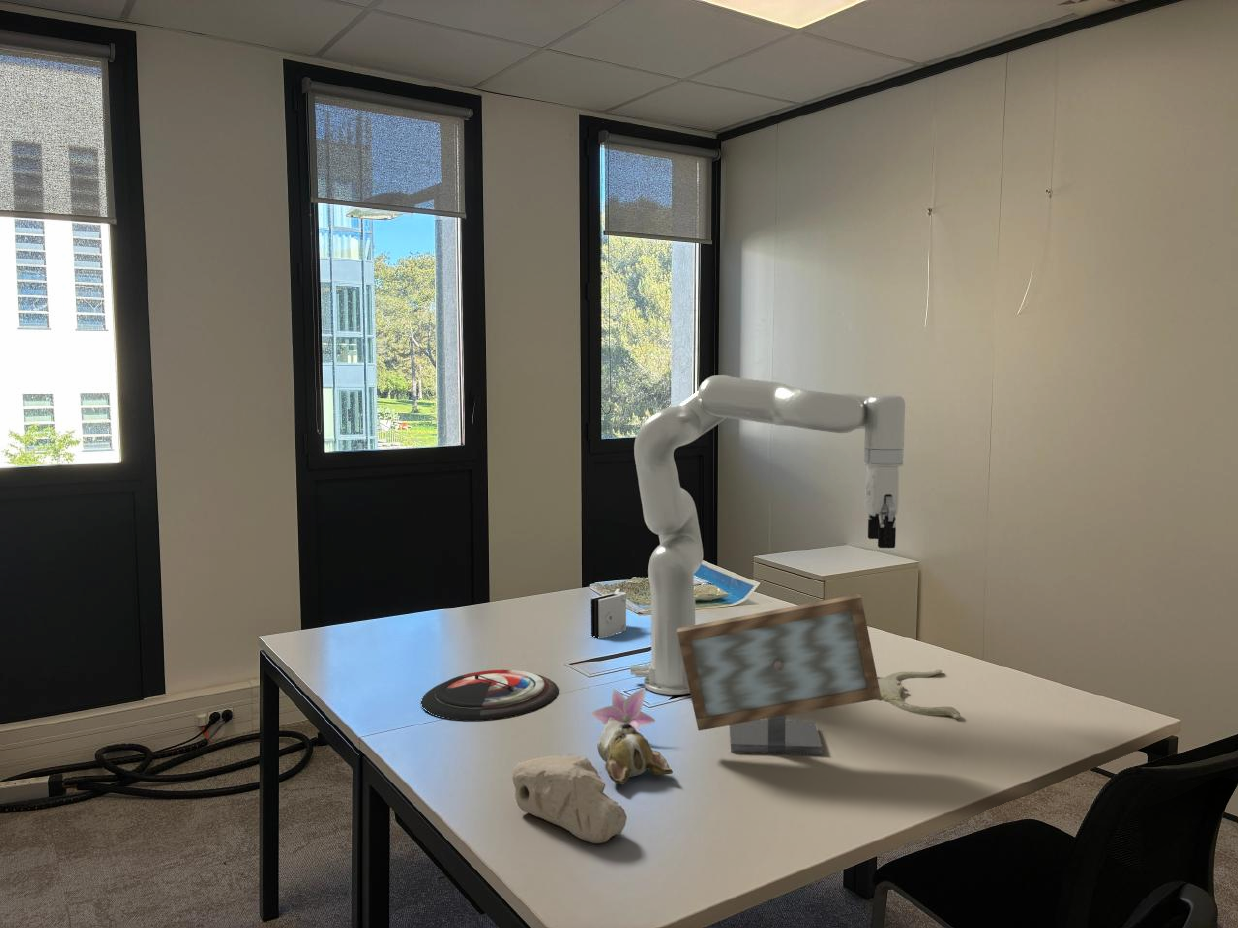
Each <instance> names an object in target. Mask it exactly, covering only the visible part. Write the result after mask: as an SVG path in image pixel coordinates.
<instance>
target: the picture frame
mask: <svg viewBox="0 0 1238 928" xmlns="http://www.w3.org/2000/svg"><path fill="white" fill-rule="evenodd" d="M866 619H867V618H866V615H865V609H864V604H863V600H862V596H861V595H860V593H857V594H852V595H847V596H846V595H845V596H842V597H841V596H840V597H836V598H830V599H825V600H820V601H815V602H809V603H805V604H798V605H794V606H788V607H783V608H777V609H772V610H768V611H762V612H756V613H752V614H746V615H741V616H736V617H729V618H726V619H724V618H723V619H720V620H716V621H710V622H703V623H698V624H695V625H693V626H688V627H682V628H677V635H678V639H679V644H680V648H681V653H682V658H683V662H684V667H685V671H686V676H687V680H688V685H689V690H690V693H689V694H690V698H691V703H692V708H693V712H694V717H695V721H696V726H697V730H698V731H699V732H700V731H705V730H711V729H716V728H721V727H726V726H730V725H733V724H739V723H745V722H750V721H756V720H768V718H773V717H779V716H784V715H785V716H789V715H790V716H791V715H793V714H795V715H796V714H799V713H800V714H801V713H806V712H813V711H817V710H822V709H829V708H835V707H839V706H847V705H852V704H856V703H862V702H868V701H873V700H875V699H880V698H881V693H880V688H879V683H878V678H877V677H878V675H877V669H876V663H875V660H874V654H873V650H872V643H871V639H870V636H869V630H868V624H867V620H866Z"/></svg>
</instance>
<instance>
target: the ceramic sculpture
mask: <svg viewBox="0 0 1238 928" xmlns="http://www.w3.org/2000/svg"><path fill="white" fill-rule="evenodd" d="M649 743H650V742H649V741H648V739H647V738H645V737H644V735H643V734H642V733H641V732H639V731H638V732H637V731H636V729H635V728H634V727H633V726H632V725H630V724H624V723H621V722H619V721H617V720H615V719H614V718H612V717H611V718H610V719H609V721H608V723H607V724H606V725H605V726H604V728H603V730H602V732H601V733H600V736H599V739H598V742H597V744H596V745H597V746H596V747H597V753H598V755H599V757H600V758H601V760H603V761H604V762H605V767H606V771H607V774H608V776H609V778H610V780H611V781H613V782H614V783H615V784H619V785H624V784H625V783H626V782H627V781H628V780H629V779H630V778H632V777H636V776H640V775H642V774H644V773H645V772H646V771H647V770H649V771H650V772H651V773H652V774H654V775H658V776H663V775H664V776H665V775H672V774H673V773H674V771H673V769H671V768H670V765H669V764H668V762H667V760H666V758H665V757H664V756H663V755H662V754H661V752H659V751H657V750H653V749H652V748H651V745H650V744H649Z"/></svg>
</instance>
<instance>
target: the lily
mask: <svg viewBox="0 0 1238 928" xmlns="http://www.w3.org/2000/svg"><path fill="white" fill-rule="evenodd" d="M646 692H647V688H642V689H639V690H636V691H635V692H634V693H632V694H630V695H629V696H628V697H627V698H626V697H624V696H623V695H622V693H620V692H619V690H617V689H613V691H612V698H611V699H612V703H611V704H612V705H607V706H604V707H601V708H598V709H595V710H594V711H592V712H591V713H590V714H591V716H592V717H593V718H594V719H596V720H597V721H598V722H600V723H602V724H604V725H605V726H606V724H607V723H608V721H609V719H610V718H611V717H612V718H614V719H615V720H617V721H619V722H621V723H624V724H630V725H632V726H633V727H634V728H635V729H636V731H637V732H639V728H640V727H644V726H648V725H650V724H653V723H655V722H656V720H655V718H653V717H652V716H650V715H649V714H648V713H645V712H642V709H643V708H642V707H643V705H644V701H645V698H646V694H647V693H646Z"/></svg>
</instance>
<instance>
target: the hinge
mask: <svg viewBox="0 0 1238 928" xmlns="http://www.w3.org/2000/svg"><path fill="white" fill-rule="evenodd" d="M626 594H627V593H626V592H624V591H623V592H622V591H621V589H620V588H616V589H615V591H614V592H611V593H607V594H603V595H598V596H594V597H591V598H590V637H591V636H592V637H593V636H595V637H594V639H595V638H597V639H600V638H602V637H605V638H607V637H606V636H609V635H612V636H614V635H613V634H616V633H619V632H622V631H625V630H626V631H627V595H626ZM626 631H625V632H626ZM622 633H623V632H622ZM616 635H617V634H616ZM592 637H591V638H592ZM598 637H599V638H598ZM609 637H610V636H609ZM602 639H603V638H602Z"/></svg>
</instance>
